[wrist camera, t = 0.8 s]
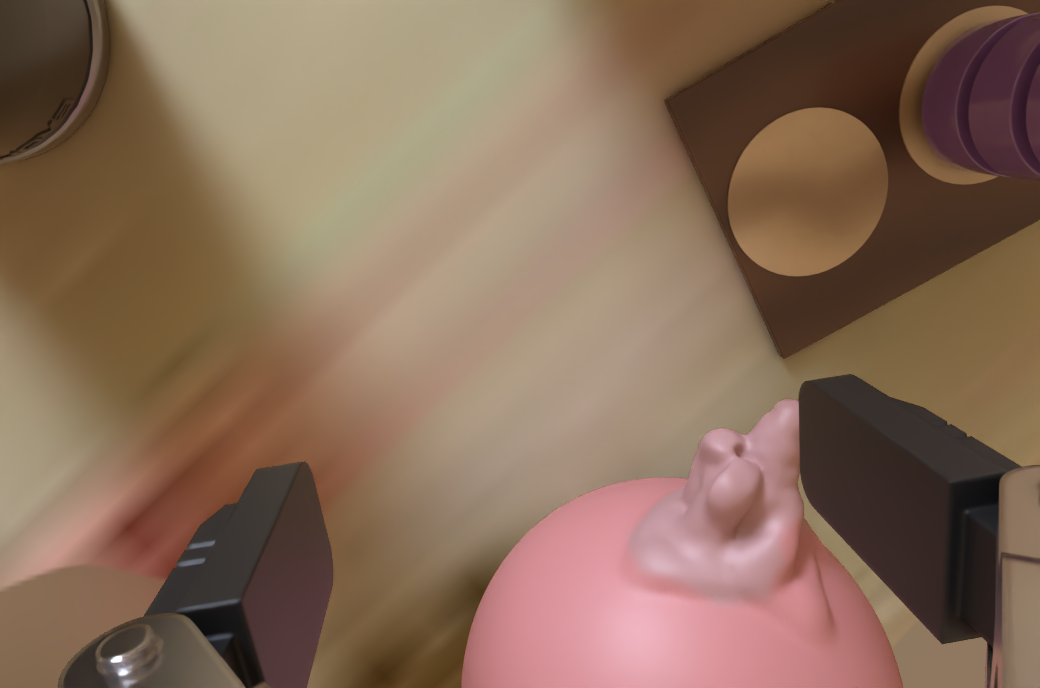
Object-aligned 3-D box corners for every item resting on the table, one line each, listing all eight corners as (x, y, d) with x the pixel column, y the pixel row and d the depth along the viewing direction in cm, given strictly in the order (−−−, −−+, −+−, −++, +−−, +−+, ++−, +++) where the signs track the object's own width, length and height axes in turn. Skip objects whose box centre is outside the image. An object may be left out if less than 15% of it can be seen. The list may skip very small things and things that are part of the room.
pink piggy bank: (867, 354, 32) (1227, 563, 17) (720, 714, 37) (899, 1103, 23) (529, 277, 29) (615, 447, 14) (425, 676, 35) (412, 1089, 20)
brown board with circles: (663, 100, 27) (667, 100, 27) (1203, -212, 26) (1217, -218, 26) (779, 356, 31) (785, 360, 31) (1255, 96, 30) (1269, 96, 29)
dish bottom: (893, 68, 27) (937, 63, 25) (1028, -9, 27) (1087, -21, 25) (937, 197, 29) (982, 205, 27) (1064, 127, 29) (1122, 128, 26)
